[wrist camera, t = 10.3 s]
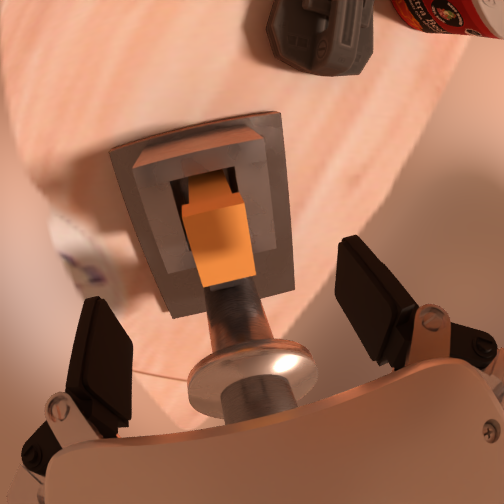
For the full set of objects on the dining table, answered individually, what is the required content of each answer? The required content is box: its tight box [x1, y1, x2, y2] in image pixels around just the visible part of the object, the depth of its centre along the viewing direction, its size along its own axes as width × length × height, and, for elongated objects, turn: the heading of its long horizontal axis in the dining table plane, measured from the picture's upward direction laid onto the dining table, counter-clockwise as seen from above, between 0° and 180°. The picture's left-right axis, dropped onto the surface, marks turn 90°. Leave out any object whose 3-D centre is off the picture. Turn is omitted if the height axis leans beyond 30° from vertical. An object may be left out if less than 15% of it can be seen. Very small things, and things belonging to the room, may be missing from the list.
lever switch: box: [109, 111, 318, 425], centre depth 18 cm, size 19×14×21 cm
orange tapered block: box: [182, 169, 256, 287], centre depth 19 cm, size 4×3×10 cm
